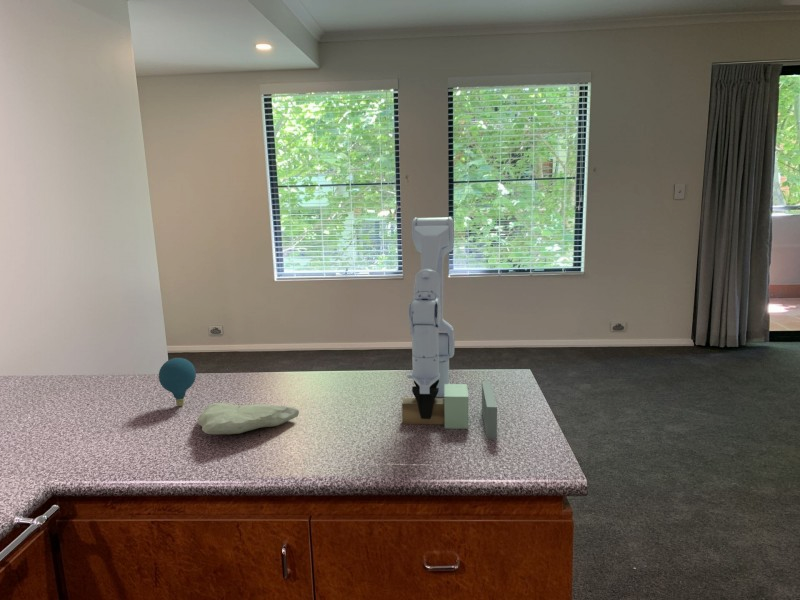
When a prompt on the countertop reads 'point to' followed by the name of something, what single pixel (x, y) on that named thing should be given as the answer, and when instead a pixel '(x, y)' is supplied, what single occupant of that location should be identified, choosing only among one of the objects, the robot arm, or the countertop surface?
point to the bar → (413, 415)
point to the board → (489, 410)
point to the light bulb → (177, 377)
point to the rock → (243, 417)
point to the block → (456, 406)
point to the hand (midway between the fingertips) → (426, 414)
